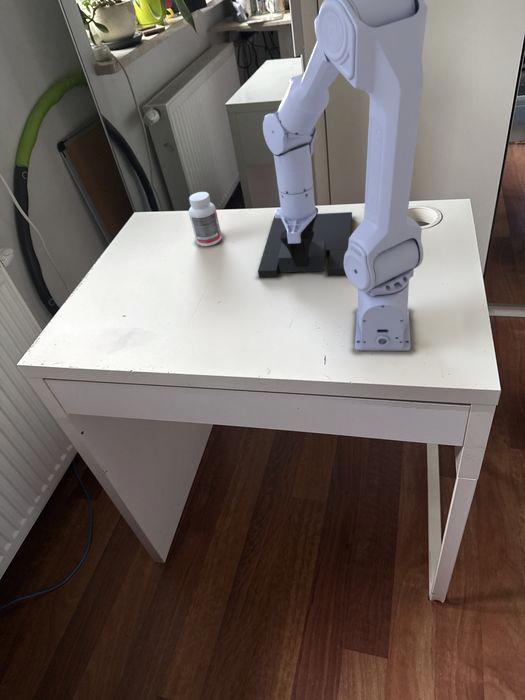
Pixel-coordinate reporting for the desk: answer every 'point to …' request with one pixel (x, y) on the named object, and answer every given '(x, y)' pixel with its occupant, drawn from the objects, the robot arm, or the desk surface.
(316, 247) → the small pad
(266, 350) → the desk surface
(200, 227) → the pill bottle
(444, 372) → the desk surface
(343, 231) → the big pad
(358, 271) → the robot arm
